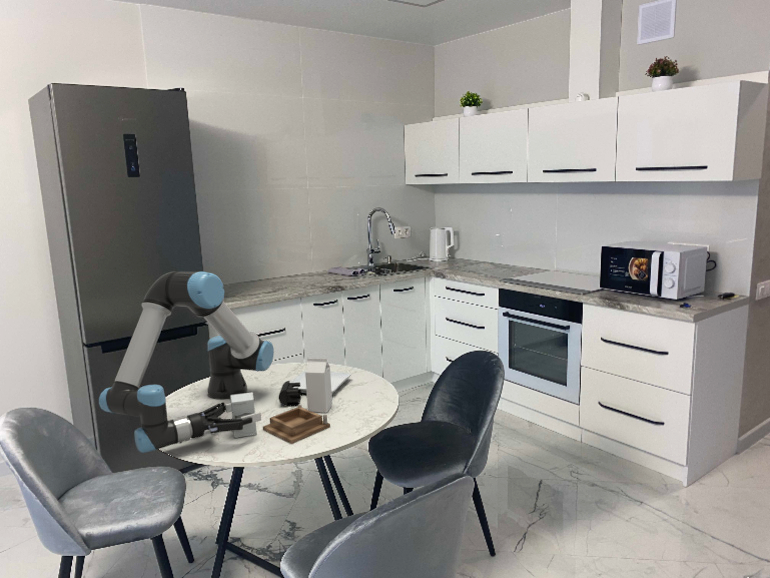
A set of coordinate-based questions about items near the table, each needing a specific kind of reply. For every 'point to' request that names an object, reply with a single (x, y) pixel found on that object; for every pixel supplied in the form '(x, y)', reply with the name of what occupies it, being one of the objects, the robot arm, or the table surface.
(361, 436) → the table surface
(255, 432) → the supplement box
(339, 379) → the salad plate
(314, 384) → the milk carton
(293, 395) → the end cap
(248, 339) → the robot arm
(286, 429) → the jig
